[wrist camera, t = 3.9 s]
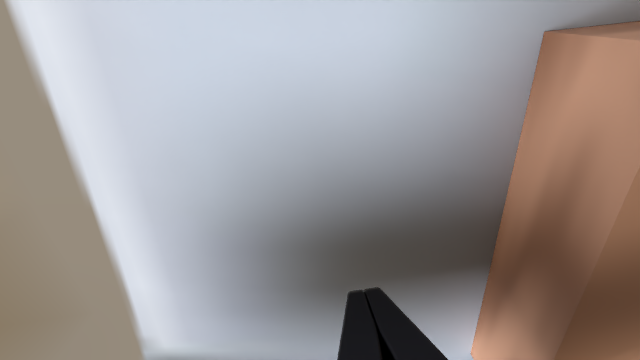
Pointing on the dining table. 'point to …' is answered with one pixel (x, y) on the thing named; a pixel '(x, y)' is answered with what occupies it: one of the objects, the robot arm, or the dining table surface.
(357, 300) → the robot arm
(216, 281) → the dining table surface
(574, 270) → the terracotta T block
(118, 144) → the dining table surface
